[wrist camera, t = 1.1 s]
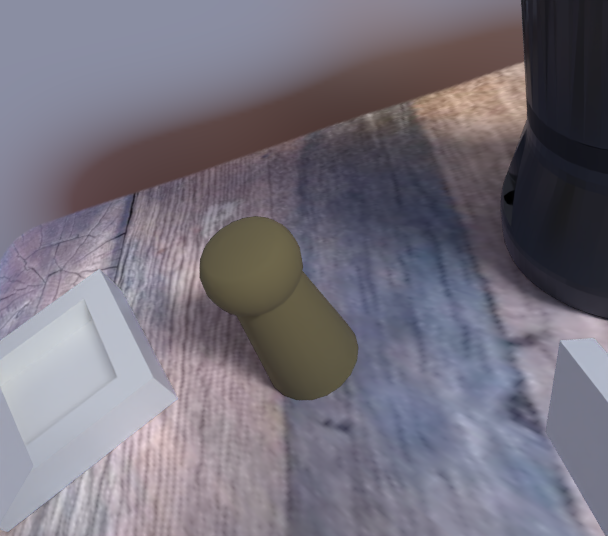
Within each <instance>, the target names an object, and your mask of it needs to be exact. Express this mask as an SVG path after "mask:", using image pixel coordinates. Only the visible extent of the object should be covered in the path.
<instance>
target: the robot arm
mask: <svg viewBox="0 0 608 536" xmlns="http://www.w3.org/2000/svg"><path fill="white" fill-rule="evenodd" d="M521 7H522V26H523V43H524V63H525V82H526V99H527V120H526V123H525V126H524V129H523V131H522V134H521V137H520V140H519V142H518V145H517V148H516V151H515V153H514V156H513V159H512V162H511V164H510V167H509V170H508V173H507V175H506V178H505V181H504V184H503V188H502V193H501V204H500V205H501V218H502V228H503V235H504V240H505V243H506V246H507V249H508V251H509V253H510V255H511V257H512V259H513V260H514V262H515V263H516V265H517V266H518V267H519V269H520V270H521V271H522V272H523V273H524V275H525V276H526V277H527V278H528V279H530V280H531V281H532V282H533V283H534V284H535V285H536V286H538V287H539V288H540V289H542V290H543V291H544V292H546V293H547V294H549V295H551V296H552V297H554V298H556V299H557V300H559V301H561V302H563V303H565V304H567V305H570V306H572V307H574V308H577V309H579V310H582V311H584V312H587V313H591V314H594V315H597V316H601V317H605V318H608V0H521ZM546 433H547V435H548V437H549V439H550V440H551V442H552V444H553V446H554V447H555V449H556V451H557V453H558V454H559V456H560V458H561V459H562V461H563V463H564V465H565V466H566V468H567V470H568V472H569V473H570V475H571V477H572V478H573V480H574V482H575V484H576V485H577V487H578V489H579V491H580V492H581V494H582V496H583V497H584V499H585V501H586V503H587V504H588V506H589V508H590V510H591V511H592V513H593V515H594V516H595V518H596V520H597V522H598V523H599V525H600V527H601V529H602V530H603V532H604V534H605V536H608V353H607V352H606V351H605V350H604V349H603V348H602V347H601V346H600V344H599V343H598V342H597V341H596V340H595V339H594V338H589V339H575V340H561V341H560V344H559V350H558V356H557V363H556V369H555V375H554V381H553V388H552V394H551V400H550V407H549V413H548V419H547V426H546ZM32 468H33V463H32V461H31V458H30V456H29V454H28V451H27V449H26V447H25V444H24V442H23V440H22V437H21V435H20V432H19V430H18V428H17V425H16V423H15V421H14V418H13V416H12V414H11V411H10V409H9V406H8V404H7V402H6V399H5V397H4V395H3V392H2V390H1V388H0V523H1V522H2V520H3V518H4V516H5V515H6V513H7V511H8V510H9V508H10V506H11V504H12V503H13V501H14V499H15V497H16V496H17V494H18V492H19V491H20V489H21V487H22V485H23V484H24V482H25V480H26V478H27V477H28V475H29V473H30V472H31V470H32Z"/></svg>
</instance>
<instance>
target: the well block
mask: <svg viewBox="0 0 608 536" xmlns="http://www.w3.org/2000/svg"><path fill="white" fill-rule="evenodd" d="M0 388H1V390H2V392H3V395H4V397H5V399H6V402H7V404H8V406H9V409H10V411H11V414H12V416H13V418H14V421H15V423H16V425H17V428H18V430H19V432H20V435H21V437H22V440H23V442H24V444H25V447H26V449H27V451H28V454H29V456H30V458H31V461H32V463H33V468H32V470H31V472H30V473H29V475H28V477H27V478H26V480H25V482H24V484H23V485H22V487H21V489H20V491H19V492H18V494H17V496H16V497H15V499H14V501H13V503H12V504H11V506H10V508H9V510H8V511H7V513H6V515H5V516H4V518H3V520H2V522H1V523H0V530H3V531H6V532H8V531H10V530H11V529H12V528H14V527H15V526H16V525H17V524H19V523H20V522H21V521H22V520H24V519H25V518H26V517H28V516H29V515H30V514H31V513H33V512H34V511H35V510H37V509H38V508H39V507H40V506H42V505H43V504H44V503H45V502H47V501H48V500H49V499H51V498H52V497H53V496H54V495H56V494H57V493H58V492H60V491H61V490H62V489H63V488H65V487H66V486H67V485H68V484H70V483H71V482H72V481H74V480H75V479H76V478H77V477H79V476H80V475H81V474H83V473H84V472H85V471H86V470H88V469H89V468H90V467H91V466H93V465H94V464H95V463H97V462H98V461H99V460H100V459H102V458H103V457H104V456H105V455H107V454H108V453H109V452H111V451H112V450H113V449H114V448H116V447H117V446H118V445H120V444H121V443H122V442H123V441H125V440H126V439H127V438H128V437H130V436H131V435H132V434H134V433H135V432H136V431H137V430H139V429H140V428H141V427H143V426H144V425H145V424H146V423H148V422H149V421H150V420H151V419H153V418H154V417H155V416H157V415H158V414H159V413H160V412H162V411H163V410H164V409H166V408H167V407H168V406H169V405H171V404H172V403H173V402H174V401H176V400H177V399H178V397H177V395H176V393H175V391H174V389H173V387H172V385H171V383H170V382H169V380H168V378H167V376H166V374H165V372H164V370H163V368H162V366H161V364H160V362H159V361H158V359H157V357H156V355H155V353H154V351H153V349H152V347H151V345H150V343H149V341H148V340H147V338H146V336H145V334H144V332H143V330H142V328H141V326H140V324H139V322H138V320H137V319H136V317H135V315H134V313H133V311H132V309H131V307H130V305H129V303H128V301H127V299H126V298H125V296H124V294H123V292H122V290H121V289H120V288H119V287H118V286H117V285H116V284H115V283H113V282H112V281H111V280H110V279H109V278H108V277H107V276H106V275H105V274H104V273H103V272H102V271H101V270H100V269H99V270H97V271H96V272H94V273H93V274H92V275H90V276H89V277H87V278H86V279H85V280H83V281H82V282H81V283H79V284H78V285H76V286H75V287H74V288H72V289H71V290H69V291H68V292H67V293H65V294H64V295H63V296H61V297H60V298H58V299H57V300H56V301H54V302H53V303H51V304H50V305H49V306H47V307H46V308H45V309H43V310H42V311H40V312H39V313H38V314H36V315H35V316H33V317H32V318H31V319H29V320H28V321H27V322H25V323H24V324H22V325H21V326H20V327H18V328H17V329H15V330H14V331H13V332H11V333H10V334H9V335H7V336H6V337H4V338H3V339H2V340H0Z"/></svg>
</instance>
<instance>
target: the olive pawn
mask: <svg viewBox="0 0 608 536" xmlns="http://www.w3.org/2000/svg"><path fill="white" fill-rule="evenodd" d="M302 269H303V264H302V258H301V253H300V247H299V245H298V243H297V241H296V240H295V238H294V237H293V235H292V234H291V233H290V231H289V230H288V229H287V228H285V227H284V226H283V225H282V224H280V223H278V222H276V221H274V220H272V219H269V218H265V217H258V216H254V217H247V218H242V219H240V220H237V221H234V222H232V223H230V224H229V225H227V226H225V227H224V228H222V229H221V230H219V231H218V232H217V233H216V234H215V235H214V236H213V237H212V238H211V239H210V241H209V242H208V243H207V245H206V246H205V248H204V250H203V253H202V255H201V258H200V280H201V282H202V285H203V287H204V289H205V291H206V294H207V296H208V297H209V298H210V299H211V300H212V301H213V302H214V303H215V304H216V305H217V306H219V307H220V308H221V309H223V310H224V311H226V312H228V313H229V314H233V315H236V316H237V317H238V319H239V321H240V323H241V325H242V327H243V329H244V331H245V332H246V334H247V336H248V338H249V340H250V342H251V344H252V346H253V348H254V349H255V351H256V353H257V355H258V357H259V359H260V361H261V363H262V365H263V366H264V368H265V370H266V372H267V374H268V376H269V378H270V380H271V382H272V383H273V385H274V387H275V388H276V389H277V390H278V391H280V392H281V393H282V394H283V395H284V396H287V397H290V398H293V399H295V400H314V399H317V398H320V397H323V396H327V395H328V394H330V393H331V392H333V391H334V390H336V389H337V388H339V387H340V386H341V385H342V384H343V383H344V382H345V381H346V379H347V378H348V377H349V376H350V375H351V373H352V370H353V368H354V366H355V364H356V362H357V355H358V344H357V340H356V336H355V334H354V332H353V331H352V330H351V328H350V327H349V326H348V324H347V323H346V322H345V321H344V320H343V318H342V317H341V316H340V315H339V314H338V312H337V311H336V310H335V309H334V308H333V307H332V305H331V304H330V303H329V302H328V301H327V299H326V298H325V297H324V296H323V295H322V294H321V292H320V291H319V290H318V289H317V288H316V286H315V285H314V284H313V283H312V282H311V281H310V279H309V278H308V277H307V276H306V275H305V273H304V272H303V271H302Z"/></svg>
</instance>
